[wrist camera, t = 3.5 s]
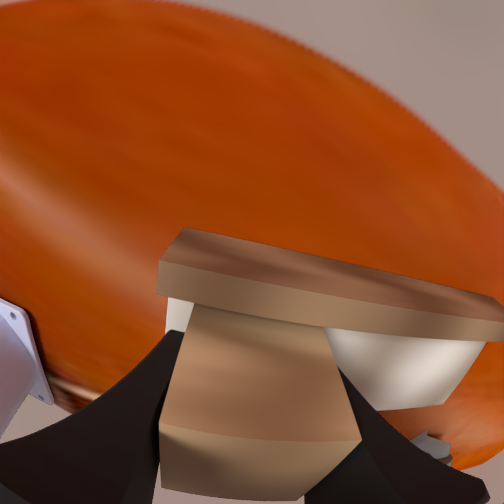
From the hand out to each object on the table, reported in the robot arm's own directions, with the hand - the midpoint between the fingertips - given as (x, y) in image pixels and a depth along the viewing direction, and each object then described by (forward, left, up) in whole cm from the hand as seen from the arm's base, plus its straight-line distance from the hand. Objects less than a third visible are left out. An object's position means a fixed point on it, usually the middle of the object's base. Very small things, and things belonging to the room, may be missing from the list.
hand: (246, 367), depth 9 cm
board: (+5, 0, -2) cm, 6 cm away
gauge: (0, -2, -1) cm, 2 cm away
